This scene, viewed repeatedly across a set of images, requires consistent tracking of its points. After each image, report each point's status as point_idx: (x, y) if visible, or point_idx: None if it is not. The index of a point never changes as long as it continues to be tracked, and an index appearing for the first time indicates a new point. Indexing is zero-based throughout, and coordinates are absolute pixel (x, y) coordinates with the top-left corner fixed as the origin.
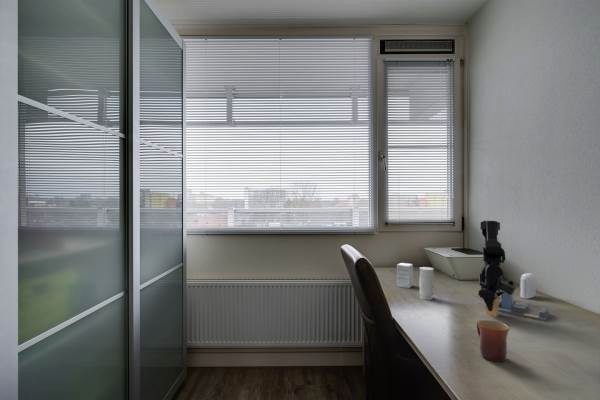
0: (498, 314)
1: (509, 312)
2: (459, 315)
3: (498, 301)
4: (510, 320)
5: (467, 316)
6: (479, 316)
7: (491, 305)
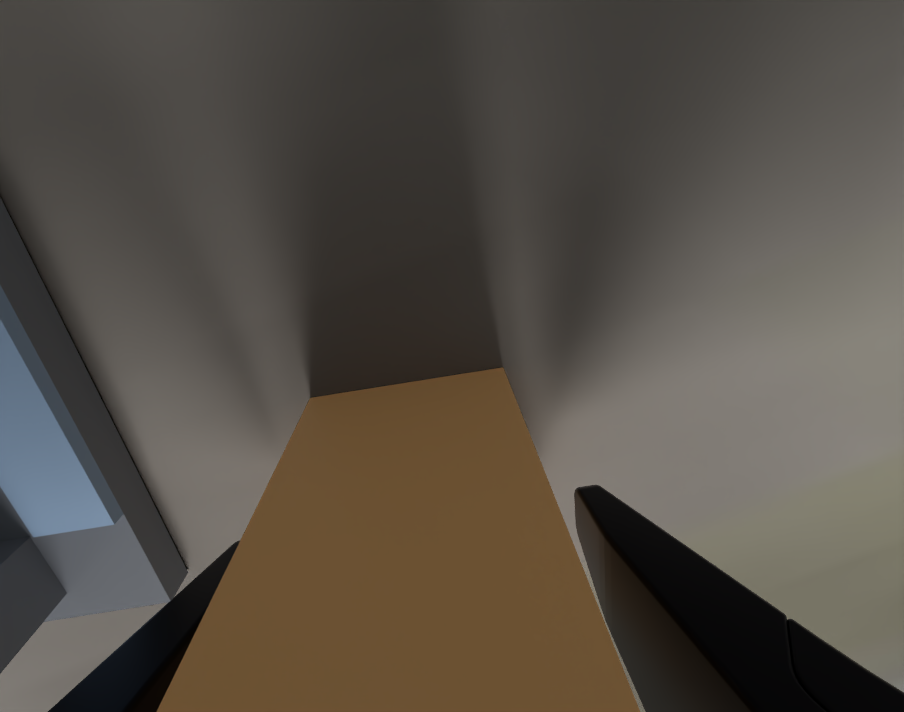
0: (335, 395)
1: (12, 286)
2: (871, 661)
3: (238, 689)
4: (524, 42)
5: (850, 600)
6: (727, 520)
7: (744, 610)
